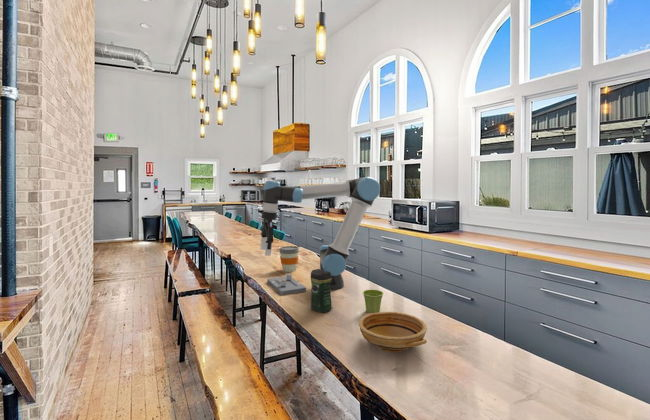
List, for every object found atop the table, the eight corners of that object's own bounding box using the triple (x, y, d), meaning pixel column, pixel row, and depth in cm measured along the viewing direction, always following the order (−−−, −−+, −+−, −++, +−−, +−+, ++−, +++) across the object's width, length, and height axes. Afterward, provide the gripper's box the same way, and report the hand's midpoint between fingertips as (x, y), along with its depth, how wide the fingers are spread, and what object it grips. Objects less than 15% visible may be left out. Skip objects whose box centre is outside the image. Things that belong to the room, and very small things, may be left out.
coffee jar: (334, 310, 165) (334, 270, 164) (321, 314, 160) (321, 273, 158) (321, 304, 173) (320, 266, 171) (308, 308, 167) (307, 269, 166)
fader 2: (291, 279, 208) (291, 274, 207) (286, 280, 206) (286, 274, 206) (290, 278, 209) (290, 273, 209) (285, 279, 208) (285, 273, 208)
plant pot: (385, 309, 166) (386, 290, 165) (380, 316, 157) (380, 297, 156) (366, 306, 170) (366, 288, 169) (359, 313, 161) (359, 294, 160)
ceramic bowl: (341, 338, 136) (341, 317, 136) (389, 323, 149) (389, 305, 148) (395, 373, 111) (395, 348, 111) (447, 352, 124) (448, 330, 123)
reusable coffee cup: (298, 272, 232) (297, 249, 231) (278, 272, 232) (278, 249, 231) (299, 267, 244) (299, 246, 243) (281, 268, 245) (280, 246, 243)
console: (306, 291, 193) (306, 287, 193) (281, 295, 187) (281, 291, 187) (289, 279, 217) (289, 275, 217) (267, 282, 211) (267, 278, 211)
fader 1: (286, 285, 196) (285, 279, 195) (280, 286, 194) (280, 280, 194) (284, 284, 197) (284, 278, 197) (279, 285, 196) (279, 279, 196)
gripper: (258, 208, 193) (254, 247, 195) (266, 213, 170) (262, 257, 171) (271, 209, 196) (267, 247, 197) (282, 215, 172) (277, 258, 174)
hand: (265, 252), depth 184 cm, fingers open, 13 cm apart
